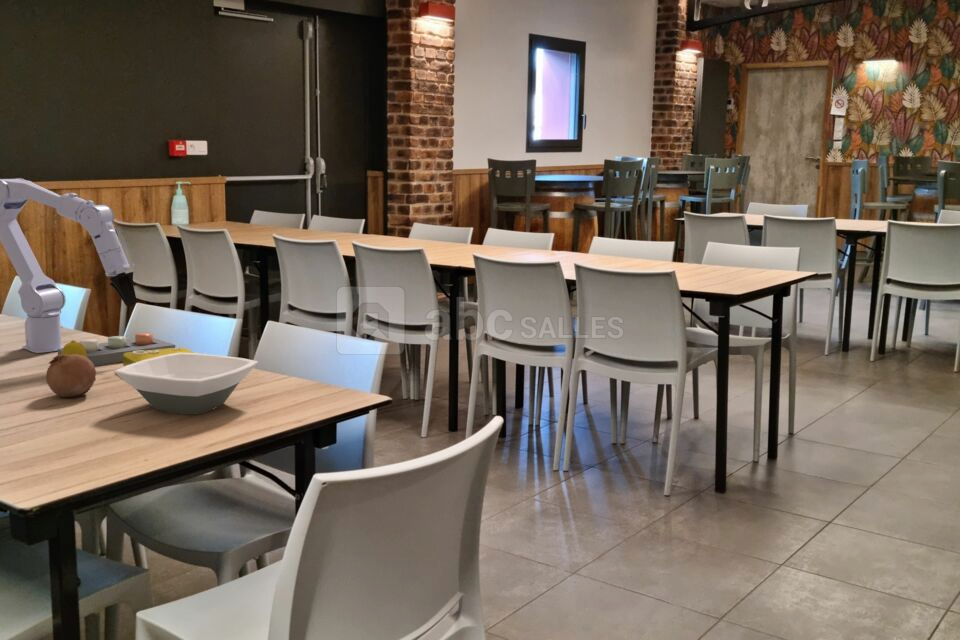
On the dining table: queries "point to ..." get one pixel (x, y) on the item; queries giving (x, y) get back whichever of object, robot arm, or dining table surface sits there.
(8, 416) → the dining table surface
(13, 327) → the dining table surface
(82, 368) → the onion
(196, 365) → the bowl
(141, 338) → the button terracotta
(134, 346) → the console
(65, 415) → the dining table surface
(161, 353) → the element tile
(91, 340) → the button ivory
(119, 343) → the button sage
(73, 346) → the lemon
